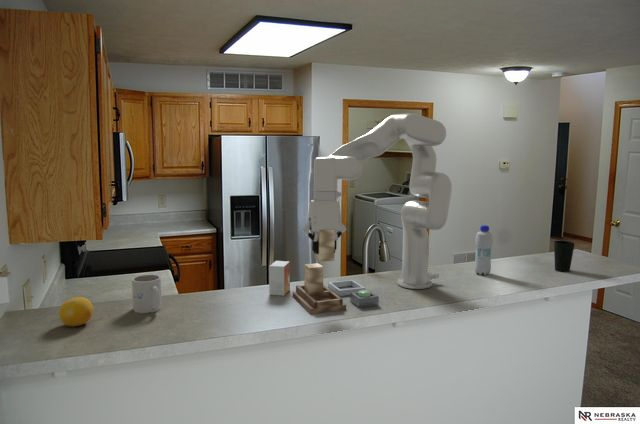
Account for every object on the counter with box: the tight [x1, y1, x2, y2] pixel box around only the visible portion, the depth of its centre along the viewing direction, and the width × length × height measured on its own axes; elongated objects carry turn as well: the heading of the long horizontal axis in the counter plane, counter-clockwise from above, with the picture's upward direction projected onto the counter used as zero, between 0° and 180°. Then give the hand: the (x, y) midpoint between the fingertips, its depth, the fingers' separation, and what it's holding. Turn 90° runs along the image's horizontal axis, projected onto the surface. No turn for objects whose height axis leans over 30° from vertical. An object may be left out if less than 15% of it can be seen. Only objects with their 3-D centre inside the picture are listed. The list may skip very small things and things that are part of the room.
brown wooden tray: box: [292, 283, 347, 315], centre depth 164 cm, size 12×19×4 cm, turn 20°
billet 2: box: [313, 230, 335, 263], centre depth 159 cm, size 5×5×10 cm
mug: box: [131, 274, 163, 314], centre depth 156 cm, size 12×9×10 cm
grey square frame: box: [327, 279, 366, 297], centre depth 178 cm, size 10×11×2 cm
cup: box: [553, 240, 576, 273], centre depth 206 cm, size 8×8×12 cm
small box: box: [268, 260, 291, 297], centre depth 175 cm, size 8×6×10 cm
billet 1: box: [303, 262, 324, 293], centre depth 168 cm, size 5×5×10 cm
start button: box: [358, 289, 370, 297], centre depth 164 cm, size 4×4×3 cm
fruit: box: [58, 296, 94, 327], centre depth 143 cm, size 9×8×8 cm
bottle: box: [474, 224, 494, 276], centre depth 199 cm, size 7×7×20 cm
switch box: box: [349, 290, 380, 309], centre depth 164 cm, size 7×7×3 cm
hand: (324, 252), depth 159 cm, fingers closed on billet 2, 5 cm apart
